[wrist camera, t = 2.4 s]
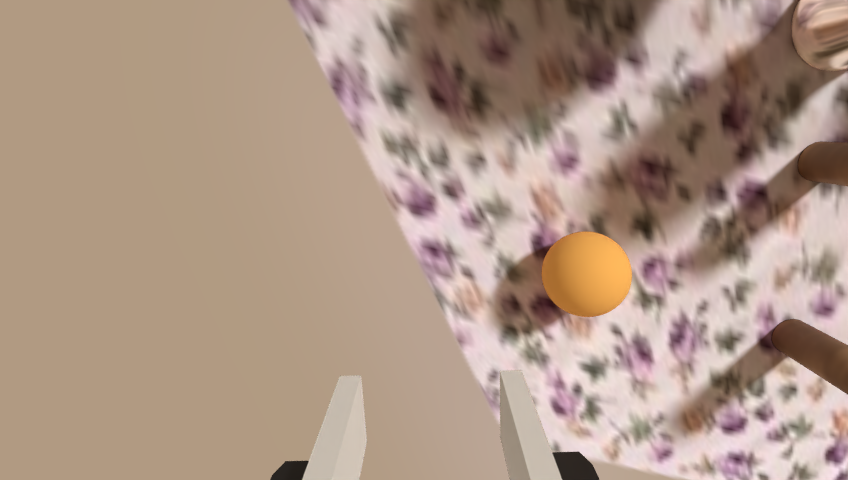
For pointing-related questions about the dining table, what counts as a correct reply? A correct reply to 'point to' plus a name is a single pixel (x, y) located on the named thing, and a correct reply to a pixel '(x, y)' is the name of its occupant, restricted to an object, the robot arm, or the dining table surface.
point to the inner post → (825, 163)
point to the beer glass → (822, 33)
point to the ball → (586, 274)
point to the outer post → (814, 351)
